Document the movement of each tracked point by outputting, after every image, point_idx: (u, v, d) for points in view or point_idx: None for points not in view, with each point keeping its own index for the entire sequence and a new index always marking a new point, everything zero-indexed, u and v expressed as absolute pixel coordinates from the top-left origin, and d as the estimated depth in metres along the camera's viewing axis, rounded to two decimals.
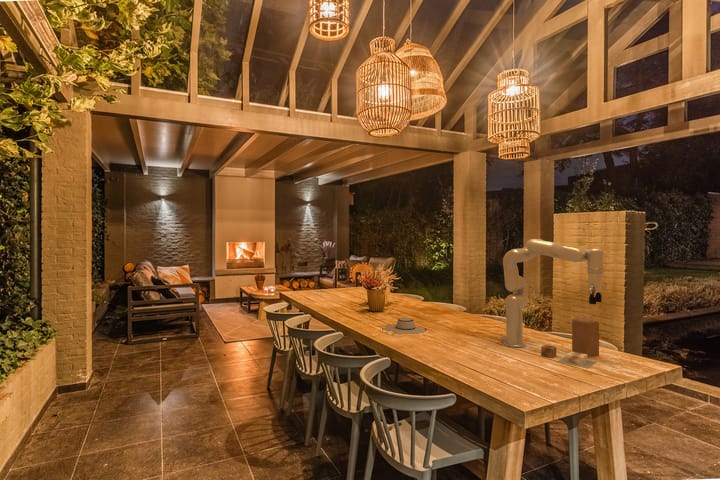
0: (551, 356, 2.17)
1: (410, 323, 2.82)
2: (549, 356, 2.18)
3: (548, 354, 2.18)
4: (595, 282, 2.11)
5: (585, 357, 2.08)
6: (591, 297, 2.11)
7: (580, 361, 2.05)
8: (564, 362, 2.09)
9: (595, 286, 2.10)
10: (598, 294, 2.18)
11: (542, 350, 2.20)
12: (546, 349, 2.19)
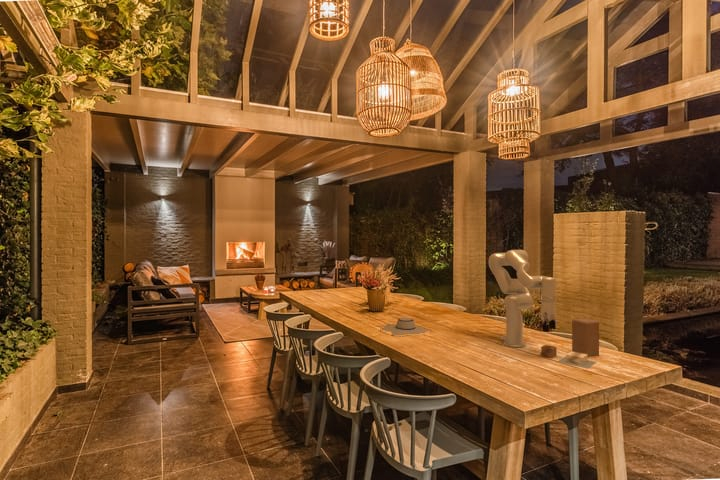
0: (551, 356, 2.17)
1: (410, 323, 2.82)
2: (549, 356, 2.18)
3: (548, 354, 2.18)
4: (548, 310, 2.16)
5: (585, 357, 2.08)
6: (544, 325, 2.17)
7: (580, 361, 2.05)
8: (564, 362, 2.09)
9: (548, 314, 2.16)
10: (552, 321, 2.24)
11: (542, 350, 2.20)
12: (546, 349, 2.19)
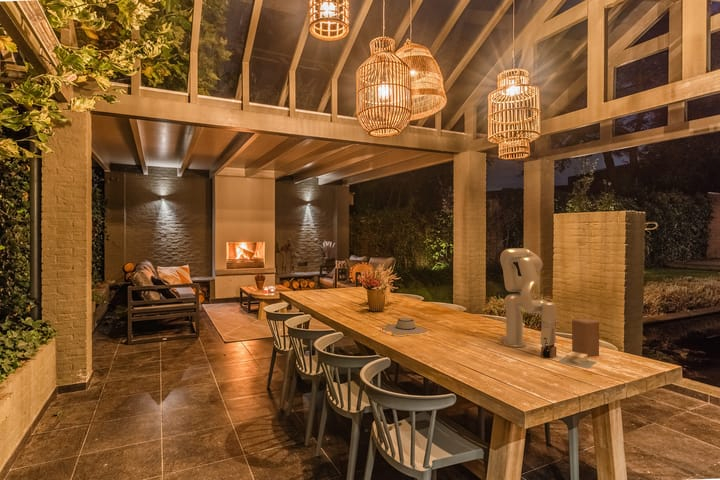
0: (551, 356, 2.17)
1: (410, 323, 2.82)
2: None
3: None
4: (548, 335, 2.17)
5: (585, 357, 2.08)
6: (545, 351, 2.18)
7: (580, 361, 2.05)
8: (564, 362, 2.09)
9: (547, 340, 2.16)
10: None
11: (542, 350, 2.20)
12: None
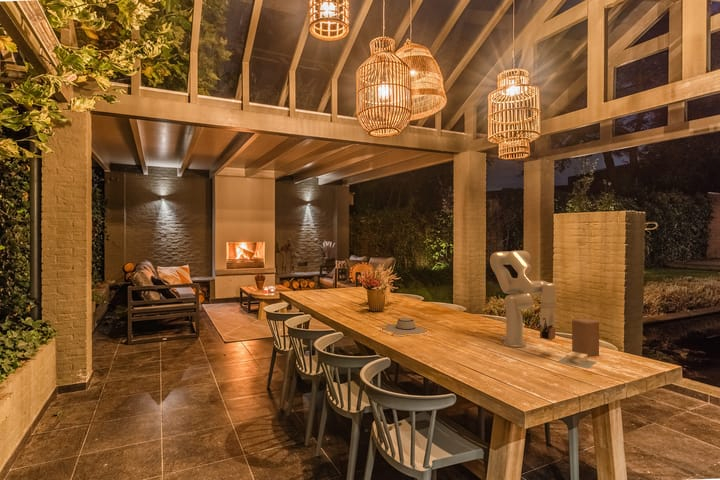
0: (550, 336, 2.18)
1: (411, 323, 2.82)
2: (548, 336, 2.19)
3: None
4: (547, 316, 2.17)
5: (585, 357, 2.08)
6: (544, 331, 2.19)
7: (580, 361, 2.05)
8: (564, 362, 2.09)
9: (547, 320, 2.17)
10: None
11: (541, 330, 2.21)
12: None
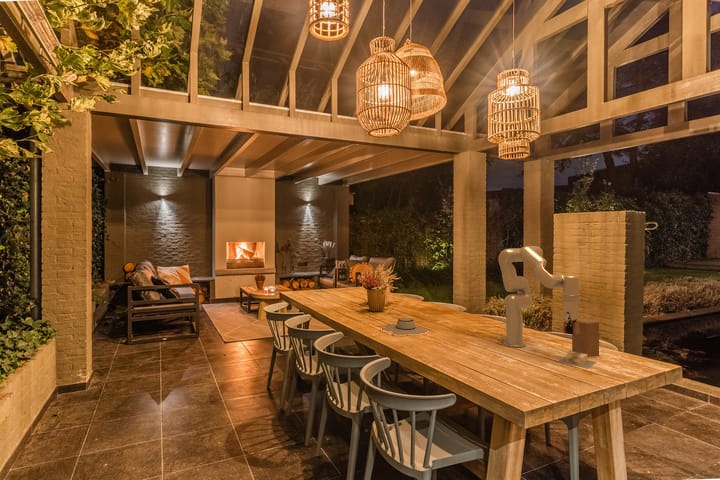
0: (574, 331, 2.08)
1: (411, 323, 2.82)
2: None
3: None
4: (571, 309, 2.08)
5: (585, 357, 2.08)
6: (568, 326, 2.09)
7: (580, 361, 2.05)
8: (564, 362, 2.09)
9: (570, 314, 2.08)
10: None
11: (565, 325, 2.11)
12: None
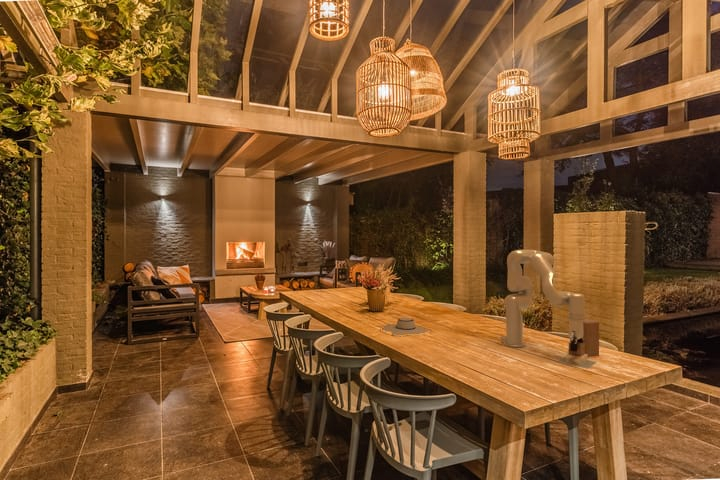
0: (580, 353, 2.06)
1: (411, 322, 2.82)
2: (577, 353, 2.07)
3: (577, 350, 2.07)
4: (576, 328, 2.06)
5: (585, 357, 2.08)
6: (572, 344, 2.06)
7: (580, 361, 2.05)
8: (564, 362, 2.09)
9: (576, 333, 2.06)
10: (580, 339, 2.13)
11: None
12: None
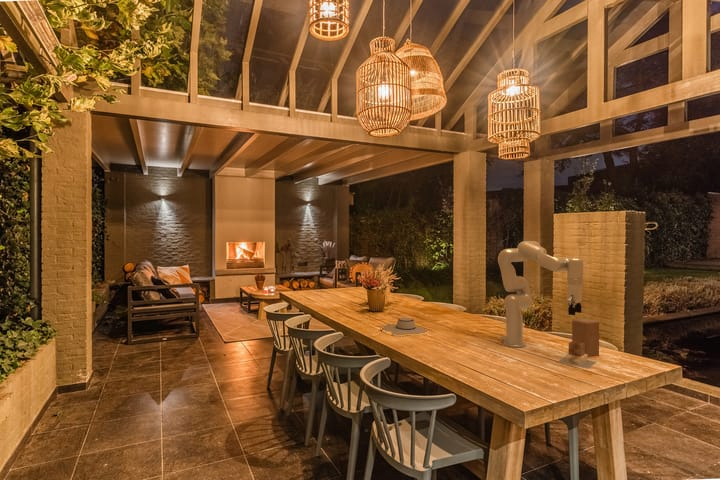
0: (580, 353, 2.06)
1: (411, 323, 2.82)
2: (577, 353, 2.07)
3: (577, 350, 2.07)
4: (575, 292, 2.07)
5: (585, 357, 2.08)
6: (570, 308, 2.07)
7: (580, 361, 2.05)
8: (564, 362, 2.09)
9: (574, 297, 2.07)
10: (578, 304, 2.14)
11: (570, 346, 2.10)
12: (574, 345, 2.08)
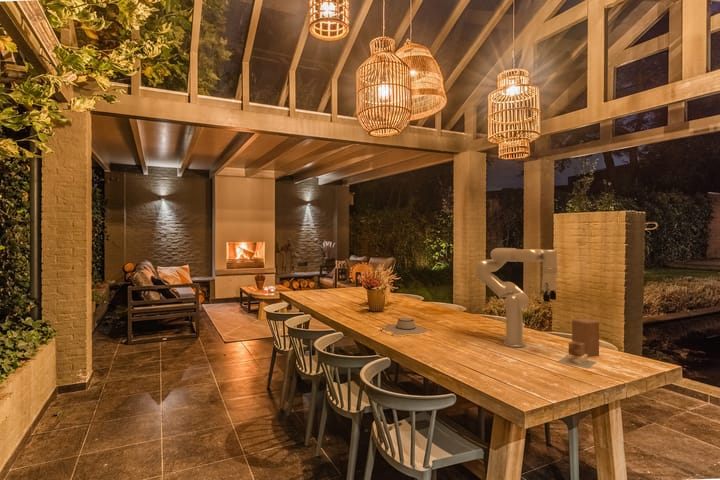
0: (580, 353, 2.06)
1: (411, 323, 2.82)
2: (577, 353, 2.07)
3: (577, 350, 2.07)
4: (549, 280, 2.26)
5: (585, 357, 2.08)
6: (545, 295, 2.26)
7: (580, 361, 2.05)
8: (564, 362, 2.09)
9: (549, 285, 2.25)
10: (553, 292, 2.33)
11: (570, 346, 2.10)
12: (574, 345, 2.08)
